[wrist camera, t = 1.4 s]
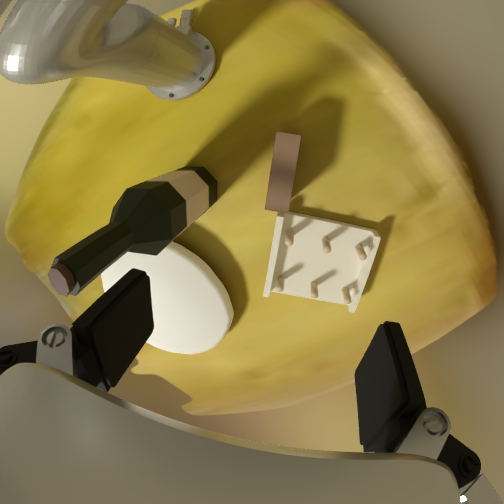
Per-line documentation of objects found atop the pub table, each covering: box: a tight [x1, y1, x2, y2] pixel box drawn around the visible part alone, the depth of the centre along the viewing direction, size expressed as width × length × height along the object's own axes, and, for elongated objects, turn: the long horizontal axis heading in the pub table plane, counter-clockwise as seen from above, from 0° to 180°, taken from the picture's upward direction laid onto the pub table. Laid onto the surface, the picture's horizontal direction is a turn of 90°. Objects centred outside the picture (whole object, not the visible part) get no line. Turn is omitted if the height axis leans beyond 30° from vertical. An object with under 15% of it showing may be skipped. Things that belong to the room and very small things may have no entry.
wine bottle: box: [48, 167, 217, 296], centre depth 30 cm, size 8×8×30 cm
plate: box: [101, 241, 234, 354], centre depth 51 cm, size 28×6×27 cm
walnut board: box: [265, 131, 301, 214], centre depth 36 cm, size 10×3×8 cm, turn 173°
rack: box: [263, 211, 381, 313], centre depth 42 cm, size 14×16×5 cm
